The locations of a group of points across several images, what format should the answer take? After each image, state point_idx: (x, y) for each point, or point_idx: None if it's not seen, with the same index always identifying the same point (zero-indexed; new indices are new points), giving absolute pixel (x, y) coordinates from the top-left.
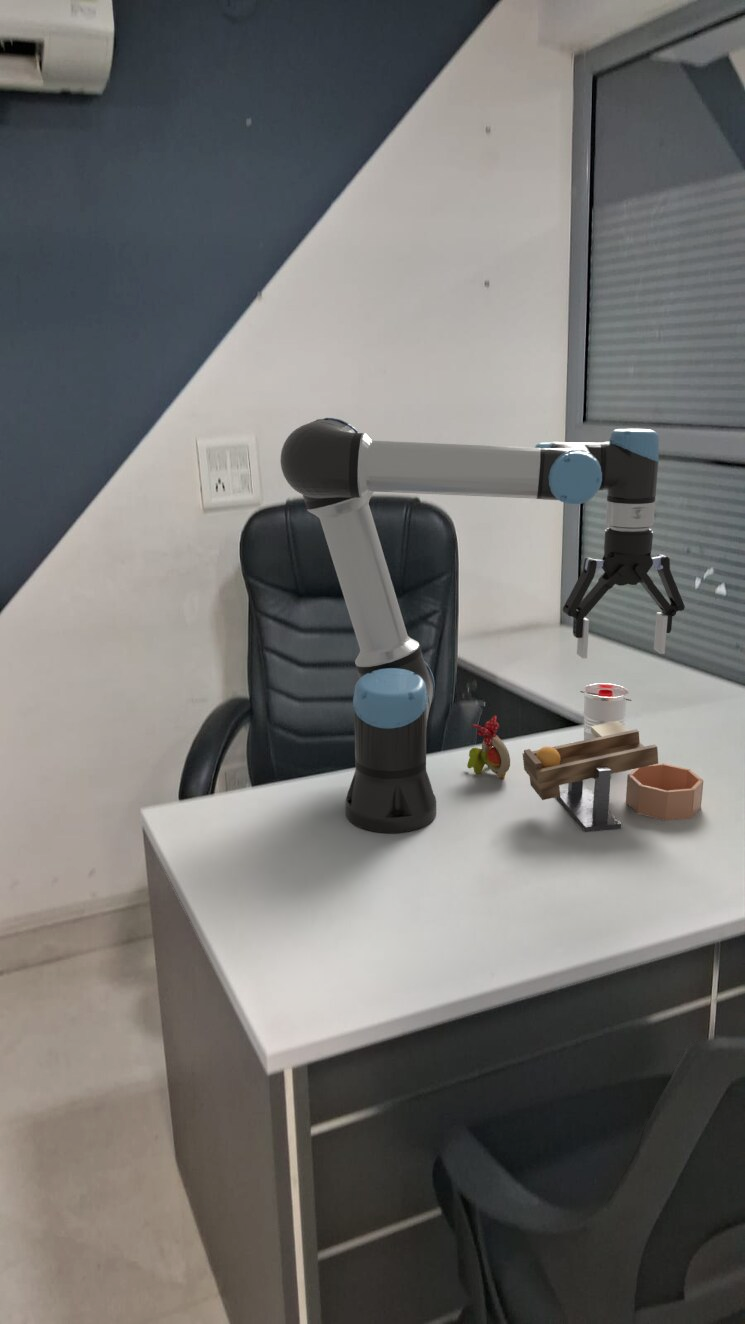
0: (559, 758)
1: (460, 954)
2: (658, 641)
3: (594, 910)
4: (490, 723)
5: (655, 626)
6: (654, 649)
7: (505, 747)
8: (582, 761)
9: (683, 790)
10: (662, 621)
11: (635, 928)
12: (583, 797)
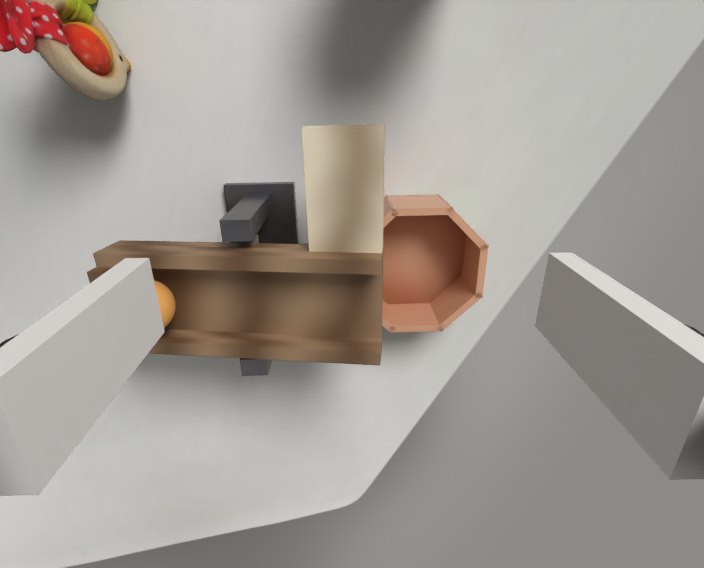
0: (167, 323)
1: (52, 529)
2: (567, 324)
3: (205, 485)
4: (1, 3)
5: (629, 309)
6: (548, 264)
7: (84, 83)
8: (212, 351)
9: (421, 330)
10: (642, 438)
11: (240, 514)
12: (271, 222)
